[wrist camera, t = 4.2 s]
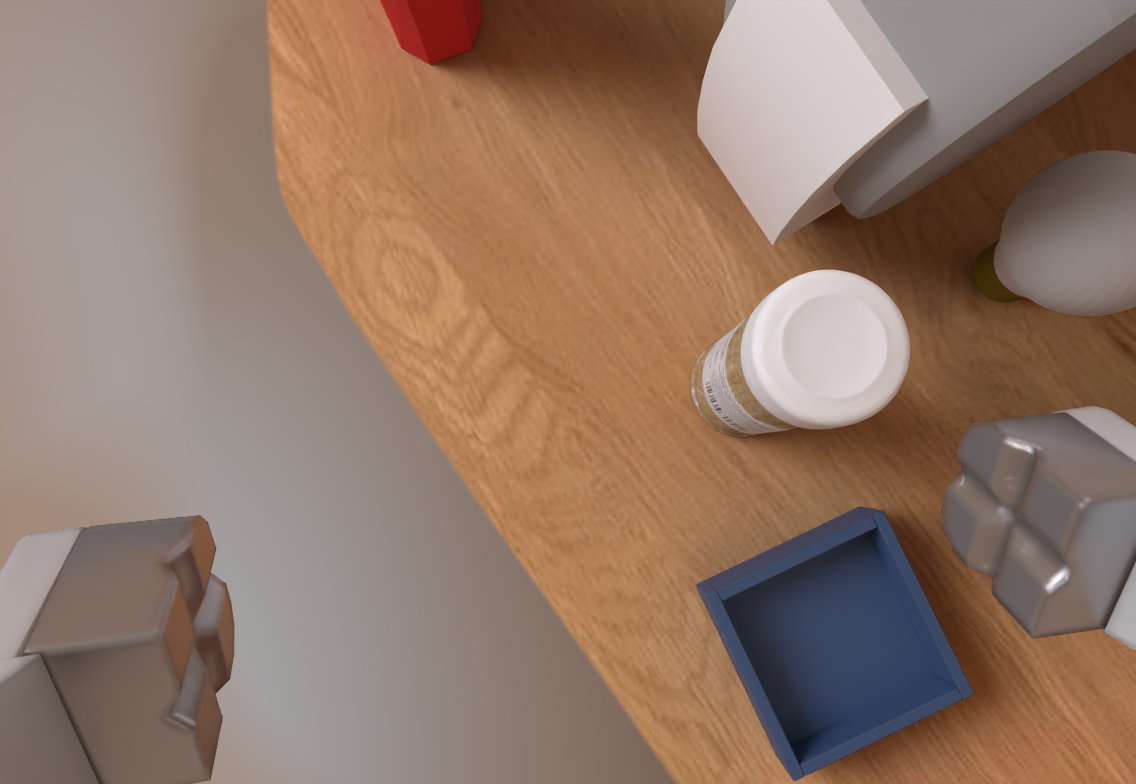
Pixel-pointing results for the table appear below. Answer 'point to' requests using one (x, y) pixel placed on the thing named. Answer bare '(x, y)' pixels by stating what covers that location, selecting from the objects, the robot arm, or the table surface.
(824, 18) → the alarm clock
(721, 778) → the table surface
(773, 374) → the spice jar
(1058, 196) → the light bulb
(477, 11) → the french fries
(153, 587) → the robot arm
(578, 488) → the table surface
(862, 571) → the blue tray
